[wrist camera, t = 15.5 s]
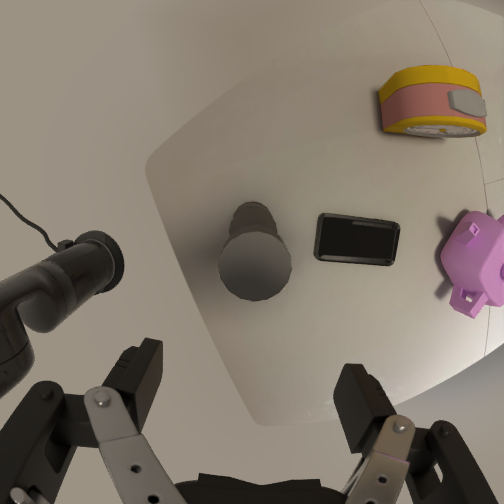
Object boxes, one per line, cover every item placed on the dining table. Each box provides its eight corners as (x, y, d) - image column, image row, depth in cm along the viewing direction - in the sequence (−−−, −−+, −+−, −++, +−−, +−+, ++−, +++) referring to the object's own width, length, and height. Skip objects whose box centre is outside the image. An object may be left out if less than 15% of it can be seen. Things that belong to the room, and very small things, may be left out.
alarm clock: (374, 135, 43) (435, 118, 25) (369, 89, 41) (423, 54, 23) (441, 141, 43) (509, 135, 25) (436, 100, 41) (500, 81, 23)
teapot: (430, 212, 46) (482, 226, 32) (490, 201, 46) (539, 212, 31) (431, 304, 51) (472, 339, 37) (488, 283, 50) (529, 308, 36)
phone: (393, 266, 48) (314, 260, 47) (390, 264, 49) (312, 258, 48) (401, 222, 46) (320, 212, 45) (398, 221, 47) (318, 211, 46)
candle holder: (241, 245, 48) (232, 314, 24) (227, 209, 46) (203, 244, 22) (277, 232, 47) (304, 289, 23) (264, 196, 46) (280, 216, 22)
